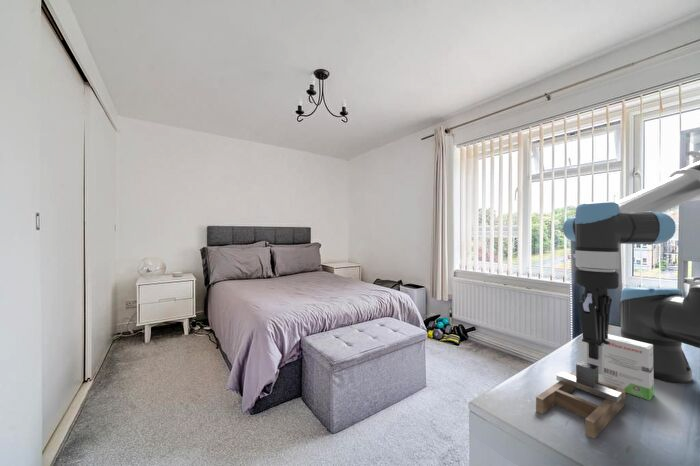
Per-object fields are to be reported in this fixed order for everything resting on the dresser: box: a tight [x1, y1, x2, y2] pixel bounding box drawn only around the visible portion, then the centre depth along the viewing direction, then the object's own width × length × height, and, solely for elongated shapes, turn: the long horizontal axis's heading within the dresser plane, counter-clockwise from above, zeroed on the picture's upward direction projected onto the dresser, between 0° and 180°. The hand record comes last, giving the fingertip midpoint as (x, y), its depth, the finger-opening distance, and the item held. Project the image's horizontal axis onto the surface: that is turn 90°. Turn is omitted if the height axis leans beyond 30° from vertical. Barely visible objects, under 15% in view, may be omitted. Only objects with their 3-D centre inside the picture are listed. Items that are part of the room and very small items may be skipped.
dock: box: [535, 371, 627, 439], centre depth 59 cm, size 20×9×3 cm, turn 123°
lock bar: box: [556, 360, 622, 403], centre depth 61 cm, size 3×10×5 cm, turn 33°
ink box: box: [599, 333, 655, 401], centre depth 66 cm, size 9×5×12 cm, turn 33°
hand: (595, 371), depth 64 cm, fingers closed
